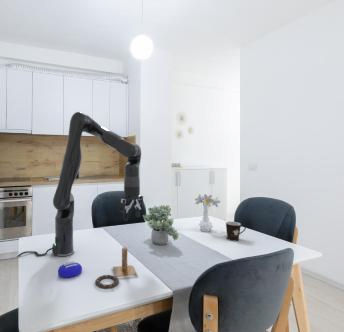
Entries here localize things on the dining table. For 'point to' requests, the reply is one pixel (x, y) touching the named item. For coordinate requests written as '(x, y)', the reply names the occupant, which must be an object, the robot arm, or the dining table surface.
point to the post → (124, 266)
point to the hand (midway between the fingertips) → (131, 218)
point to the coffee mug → (233, 230)
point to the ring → (108, 284)
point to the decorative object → (69, 269)
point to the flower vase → (206, 211)
